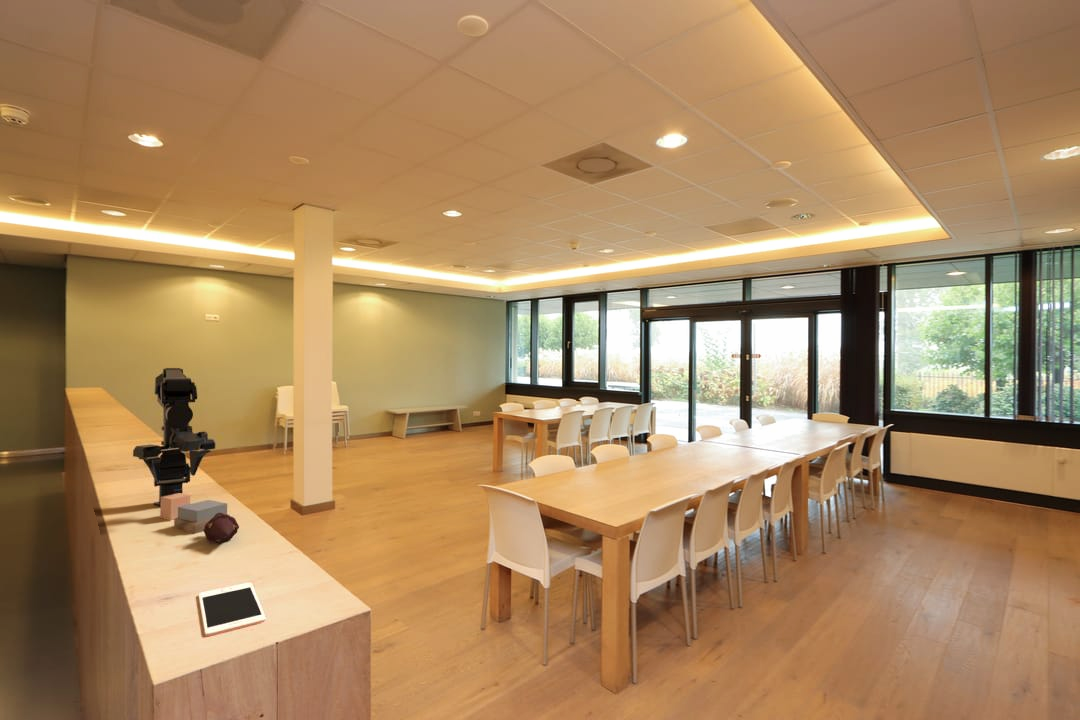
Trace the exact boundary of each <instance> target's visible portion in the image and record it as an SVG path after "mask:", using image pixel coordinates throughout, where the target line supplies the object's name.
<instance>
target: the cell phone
mask: <svg viewBox="0 0 1080 720" xmlns="http://www.w3.org/2000/svg"><path fill="white" fill-rule="evenodd" d="M197 596H198V602H199V603H198V604H199V609H200V613H201V620H202V626H203V633H204V636H205V637H213V636H215V635H216V636H217V635H219V634H220V635H221V634H224V633H228V632H231V631H235V630H239V629H243V628H246V627H248V628H249V627H251V626H255V625H259V624H262V623H261V622H263V623H265V622H266V621H267V620H266V619H267V618H266V616H265V612H264V610H263V607H262V606H261V603H260V600H259V598H258V595H257V594H256V590H255V588H254V585H253V583H252V582H245V583H241V584H234V585H231V586H224V587H222V588H221V587H219V588H215V589H211V590H206V591H202V592H199V593H198V595H197ZM265 620H266V621H265ZM264 621H265V622H264Z"/></svg>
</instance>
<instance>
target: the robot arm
mask: <svg viewBox="0 0 1080 720" xmlns="http://www.w3.org/2000/svg"><path fill="white" fill-rule="evenodd" d="M162 369H163V370H162V373H159V375H158V376H156V377H155V379H154V395H156V399H157V400H156V401H157V403H158V404H159V405H160V406H161V408H162V412H163V416H162V417H163V418H162V421H163V423H162V425H163V426H161V431H163V434H162V437H163V440H162V441H161V444H160V445H159V444H157V445H156V444H151V443H150V444H141V445H136V446H135V447H134V448H133V450H132V457H135V458H138V460H142V461H143V462H144V464H146V466H147V467H148V469H149V471H150V473H151V475H152V477H153V486H154V487H158V488H159V490H158V501H154V502H153V504H152V505H154V504H156V505H155V506H158V505H160V506H161V497H163V496H167V495H172V494H177V493H182V494H184V493H183V487H184V486H183V484H189V483H190V482H191V476H193V477H194V476H196V474H197V471H198V468H199V467H200V464H201V462H202V460H203V458H204V457H205V456H206V455H207V454H208V453H211V451H212V450H215V449H216V442H215V440H214V439H213V438H212V439H211V438H209V437H208V436H209V435H208V432H207V431H198V432H196V433H195V432H193V431H194V430H193V426H192V425H190V422H191V421H192V419H193V417H194V412H193V410H192V408H191V407H190V405H189V404H190V403H196V400H198V389H197V385H196V383H195V382H194V381H192V378H191V377H188V376H187V375H185V374H184V369H183V368H181V367H165V368H162ZM185 452H186V453H187V452H188V453H189V462H187V457H186V454H185ZM160 506H159V507H160Z"/></svg>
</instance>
